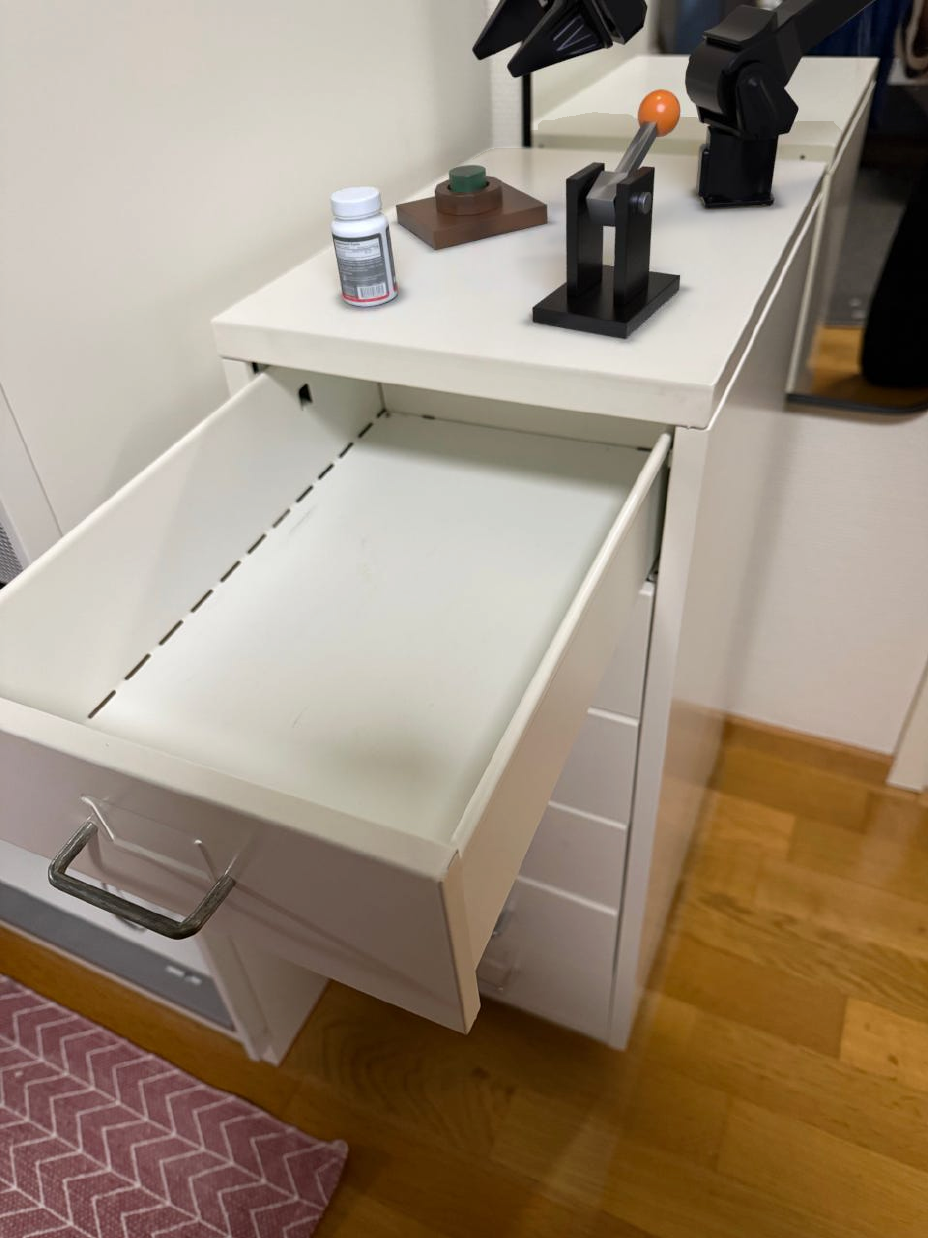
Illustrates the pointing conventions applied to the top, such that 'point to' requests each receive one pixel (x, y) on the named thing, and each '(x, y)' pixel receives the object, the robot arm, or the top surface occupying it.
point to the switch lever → (633, 153)
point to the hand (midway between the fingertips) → (491, 63)
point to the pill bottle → (363, 247)
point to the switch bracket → (606, 291)
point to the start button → (467, 178)
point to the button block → (470, 213)
